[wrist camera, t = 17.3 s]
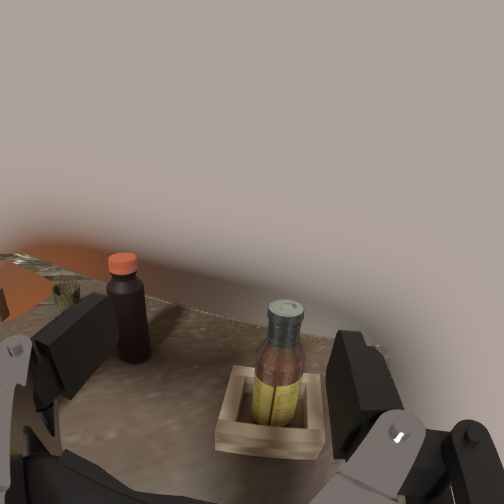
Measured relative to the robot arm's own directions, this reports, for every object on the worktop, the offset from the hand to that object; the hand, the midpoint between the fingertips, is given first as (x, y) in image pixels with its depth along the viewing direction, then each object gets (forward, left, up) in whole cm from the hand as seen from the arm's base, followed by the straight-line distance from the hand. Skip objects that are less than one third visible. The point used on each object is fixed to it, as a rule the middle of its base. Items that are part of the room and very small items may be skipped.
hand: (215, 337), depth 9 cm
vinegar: (-23, +30, -30) cm, 48 cm away
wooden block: (-64, +25, -30) cm, 75 cm away
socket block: (+4, +20, -30) cm, 36 cm away
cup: (-45, +36, -30) cm, 65 cm away
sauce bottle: (+4, +20, -29) cm, 36 cm away
